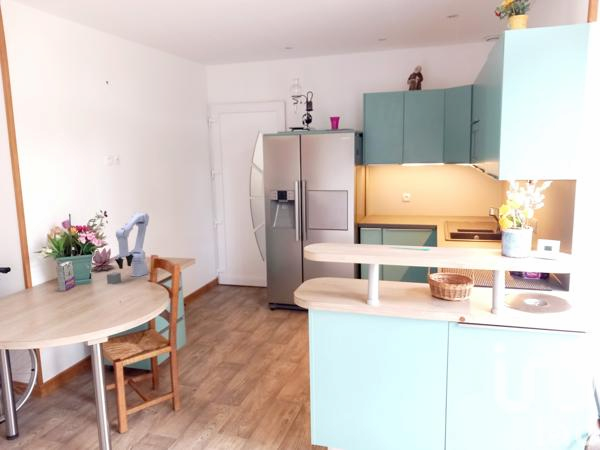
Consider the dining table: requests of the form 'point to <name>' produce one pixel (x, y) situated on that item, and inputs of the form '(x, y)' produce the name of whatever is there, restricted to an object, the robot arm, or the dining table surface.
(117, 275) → the grey cube
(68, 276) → the candy bar box
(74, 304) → the dining table surface
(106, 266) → the decorative flower
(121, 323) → the dining table surface
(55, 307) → the dining table surface
